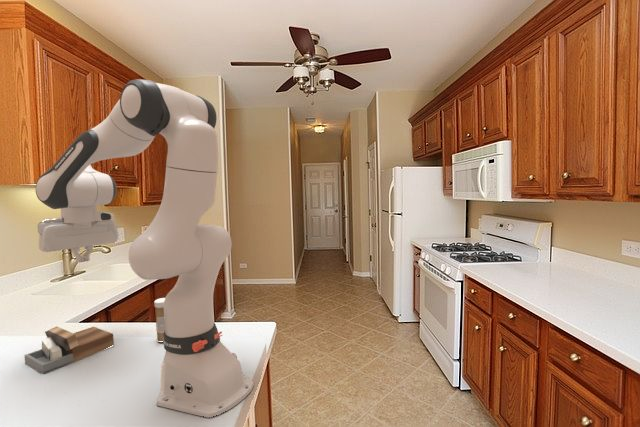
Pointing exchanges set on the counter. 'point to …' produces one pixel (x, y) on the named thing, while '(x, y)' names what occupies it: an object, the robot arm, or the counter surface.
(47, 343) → the tile
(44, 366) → the tray
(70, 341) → the tan wooden bar
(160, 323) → the sprinkles bottle
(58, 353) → the tile
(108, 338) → the board
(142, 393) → the counter surface
